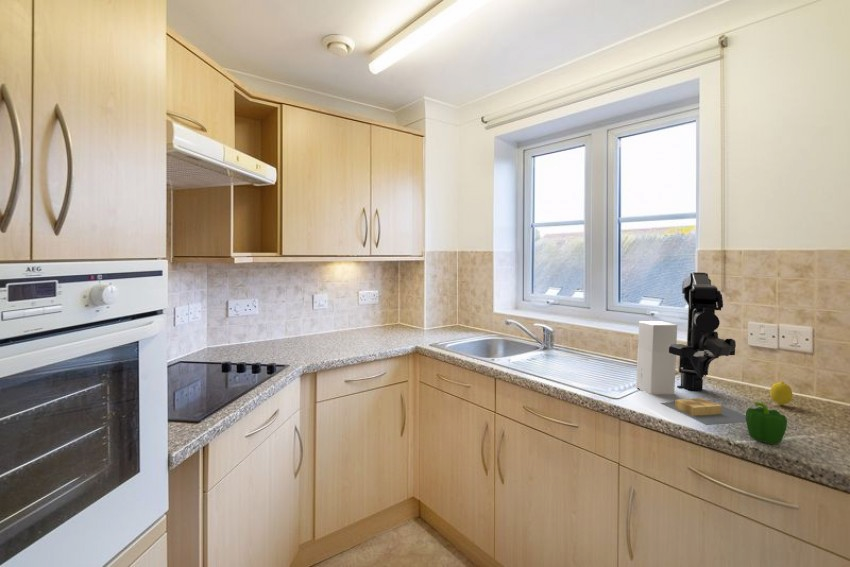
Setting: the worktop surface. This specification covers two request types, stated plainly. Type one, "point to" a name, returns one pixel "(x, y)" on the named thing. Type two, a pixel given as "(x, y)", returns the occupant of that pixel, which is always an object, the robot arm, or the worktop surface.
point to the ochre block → (698, 406)
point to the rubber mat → (714, 416)
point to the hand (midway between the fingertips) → (700, 377)
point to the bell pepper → (765, 424)
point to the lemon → (781, 393)
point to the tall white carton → (656, 357)
